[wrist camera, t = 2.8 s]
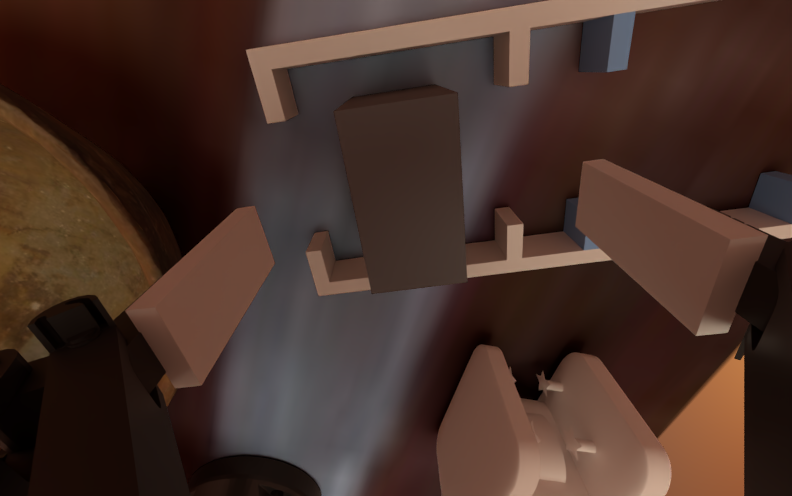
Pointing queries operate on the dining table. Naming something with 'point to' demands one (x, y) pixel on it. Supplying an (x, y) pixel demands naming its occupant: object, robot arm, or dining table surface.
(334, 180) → the dining table surface
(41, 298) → the bowl
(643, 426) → the cable organizer
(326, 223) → the dining table surface
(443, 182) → the dark brown block
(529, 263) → the slotted rail
